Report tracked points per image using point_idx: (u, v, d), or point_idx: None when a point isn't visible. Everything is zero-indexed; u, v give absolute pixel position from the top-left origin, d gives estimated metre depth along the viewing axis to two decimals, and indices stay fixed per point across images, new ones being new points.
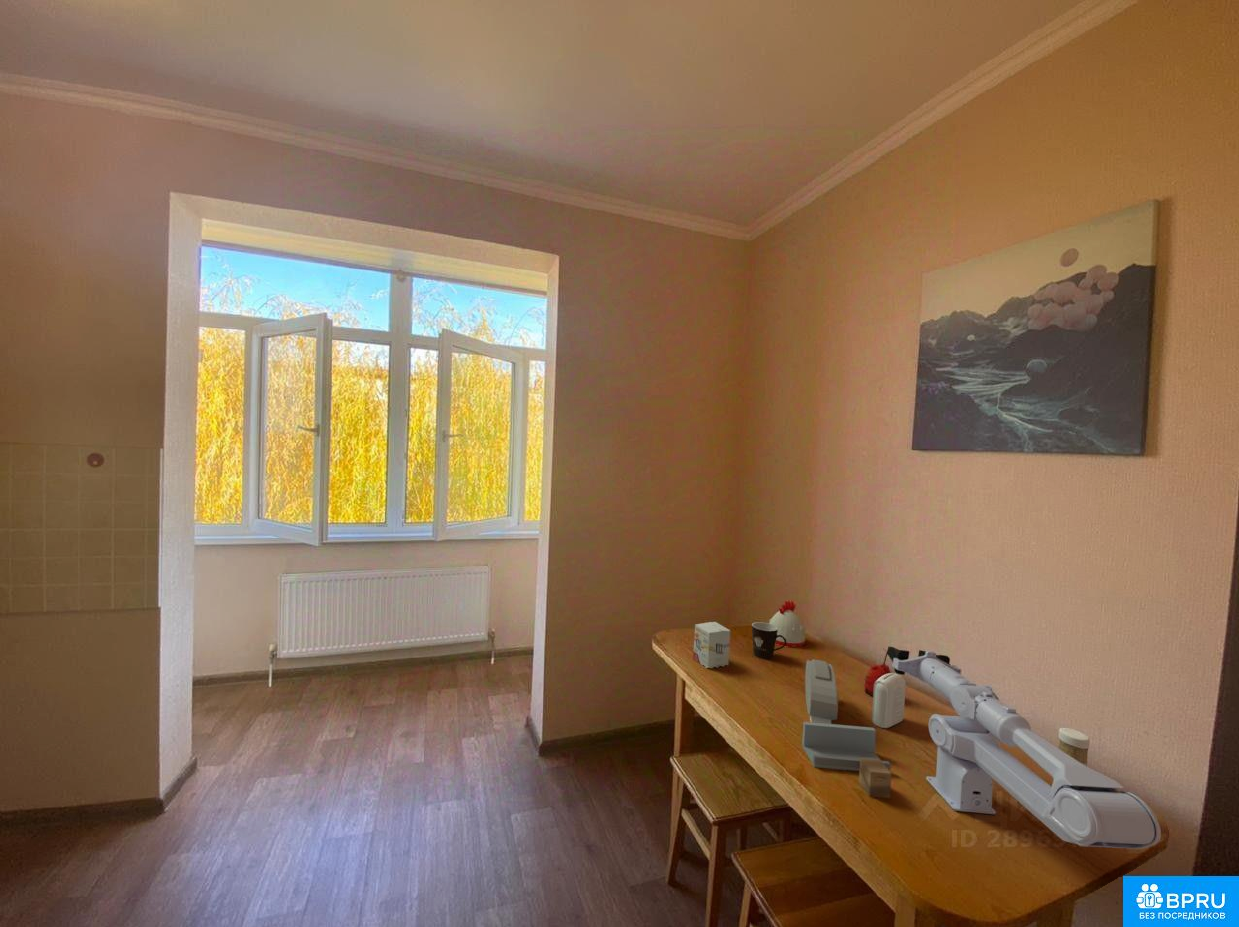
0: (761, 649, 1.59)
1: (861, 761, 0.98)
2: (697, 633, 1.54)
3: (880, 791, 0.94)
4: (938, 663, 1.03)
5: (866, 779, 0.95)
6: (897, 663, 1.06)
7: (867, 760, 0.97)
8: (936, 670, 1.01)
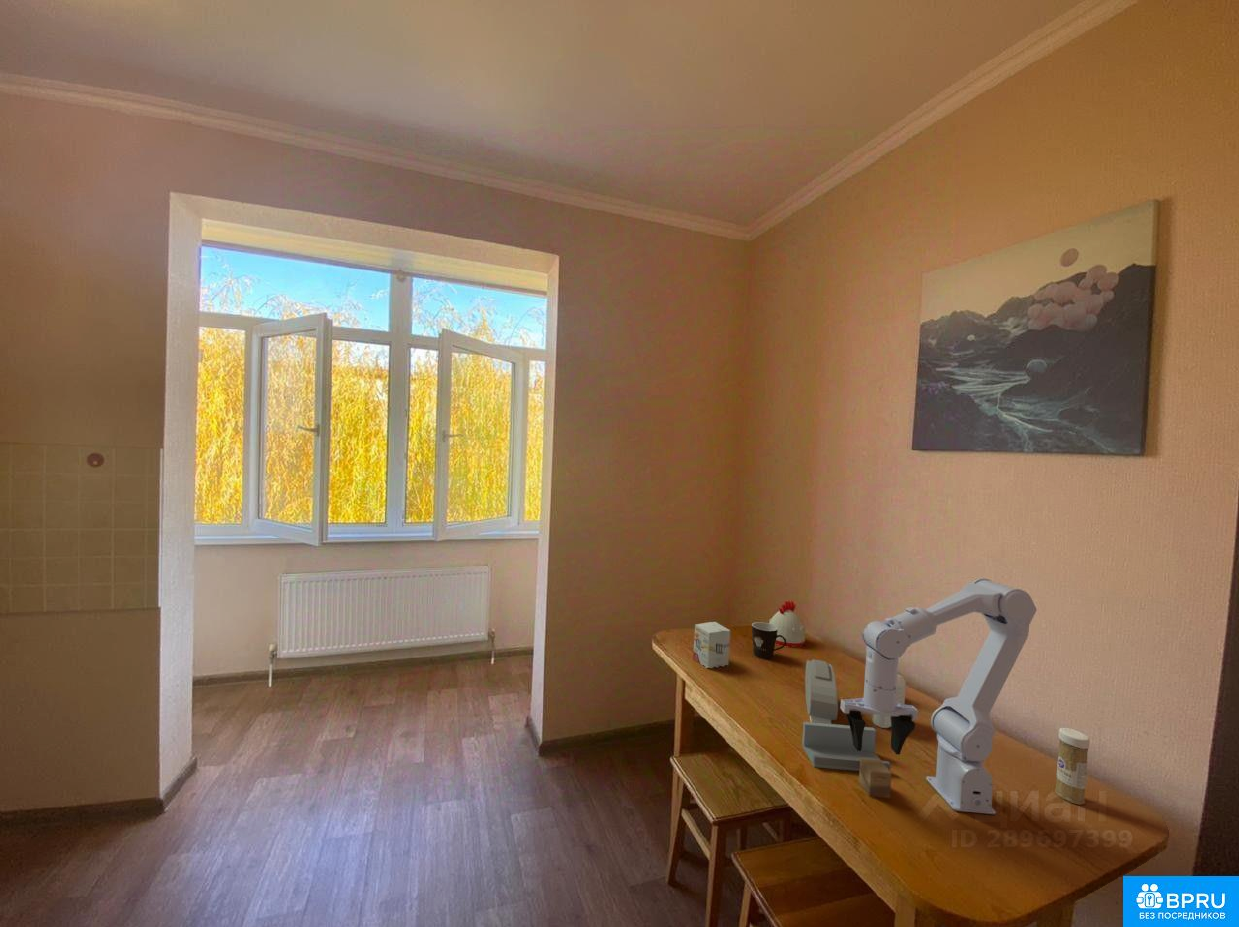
0: (761, 649, 1.59)
1: (861, 761, 0.98)
2: (697, 633, 1.54)
3: (880, 791, 0.94)
4: None
5: (866, 779, 0.95)
6: (842, 702, 0.97)
7: (867, 760, 0.97)
8: (876, 684, 0.94)
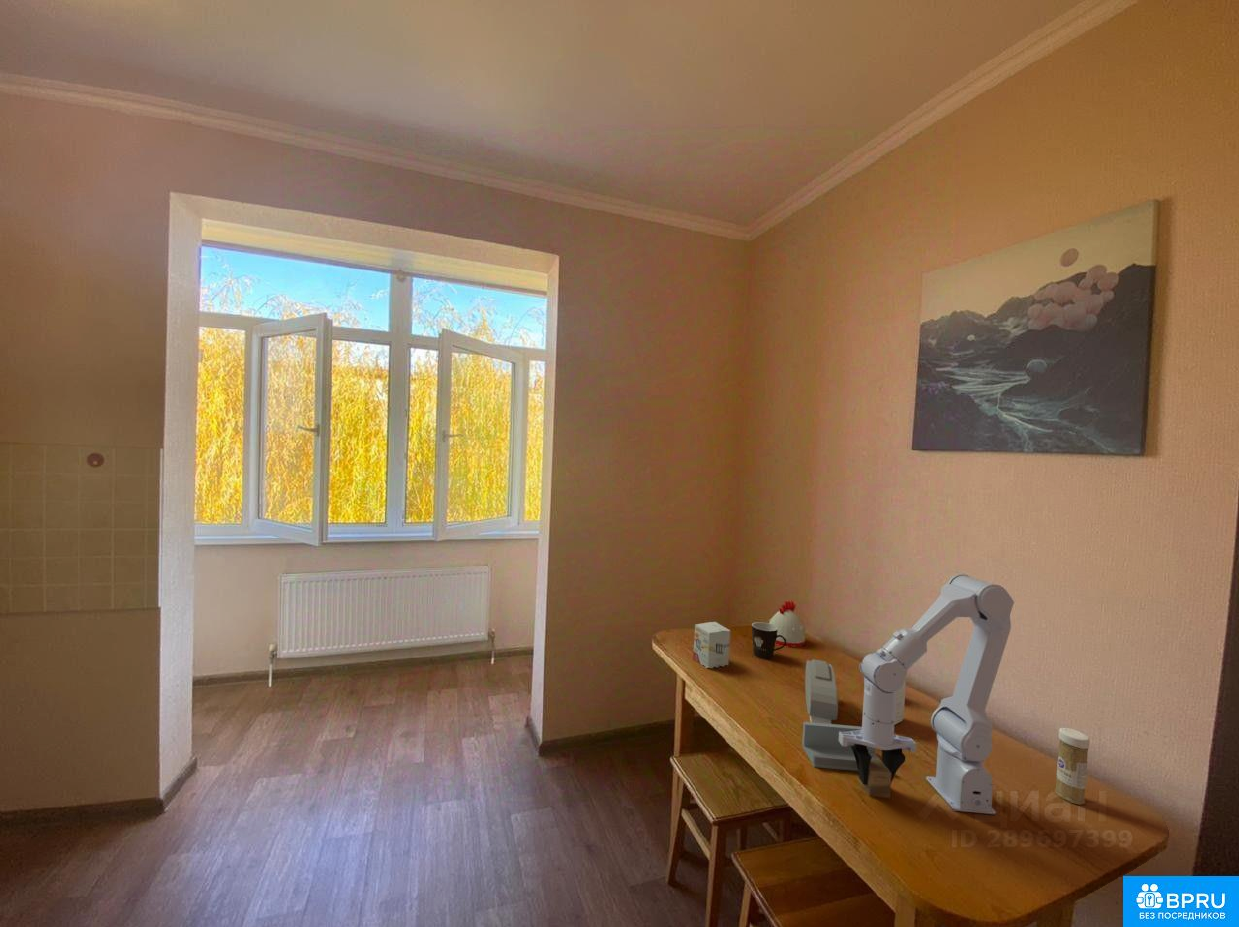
0: (761, 649, 1.59)
1: None
2: (697, 633, 1.54)
3: (880, 790, 0.94)
4: None
5: None
6: (840, 734, 0.97)
7: None
8: (874, 718, 0.94)
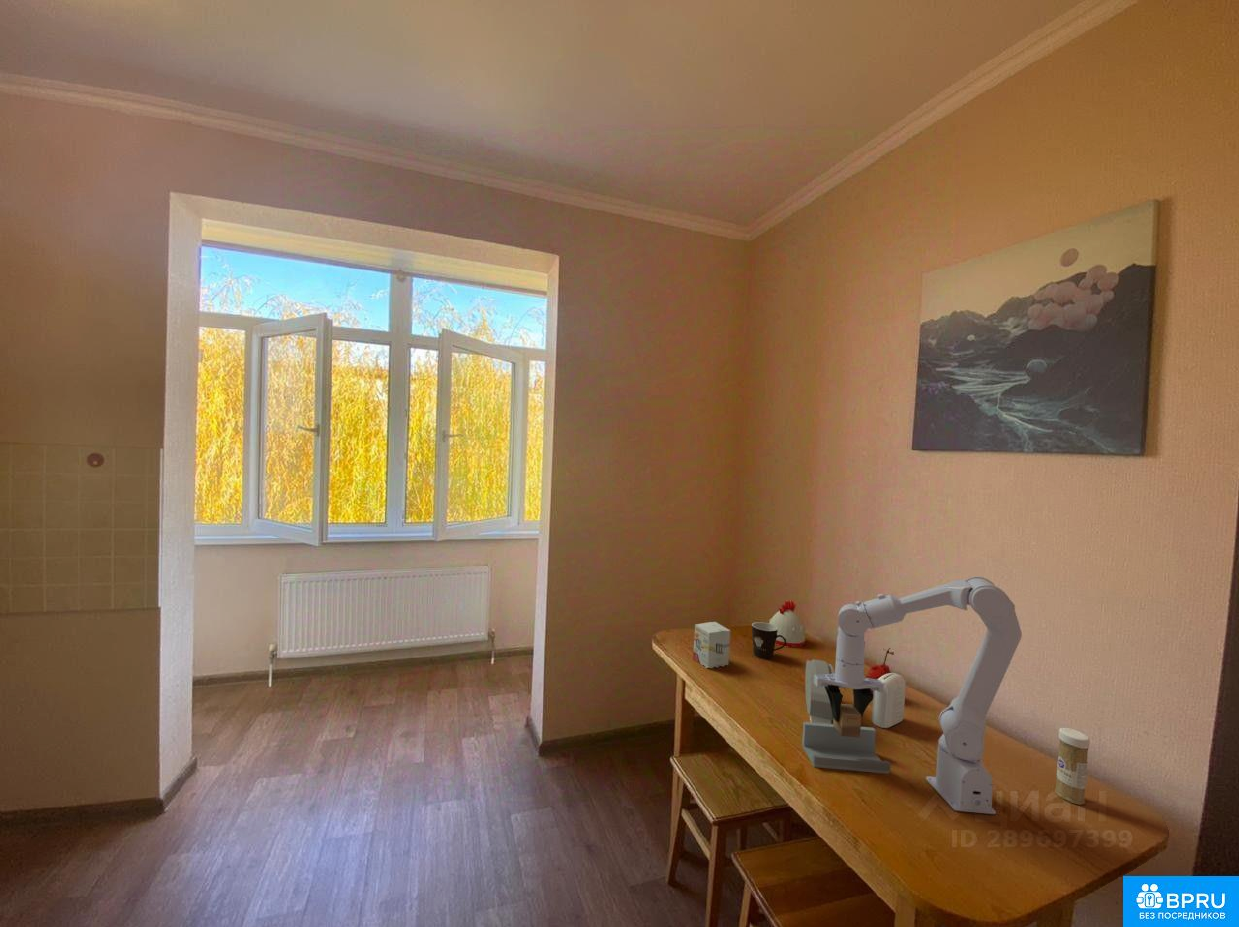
0: (761, 649, 1.59)
1: None
2: (697, 633, 1.54)
3: (851, 731, 1.03)
4: None
5: None
6: (815, 677, 1.06)
7: None
8: (839, 658, 1.05)
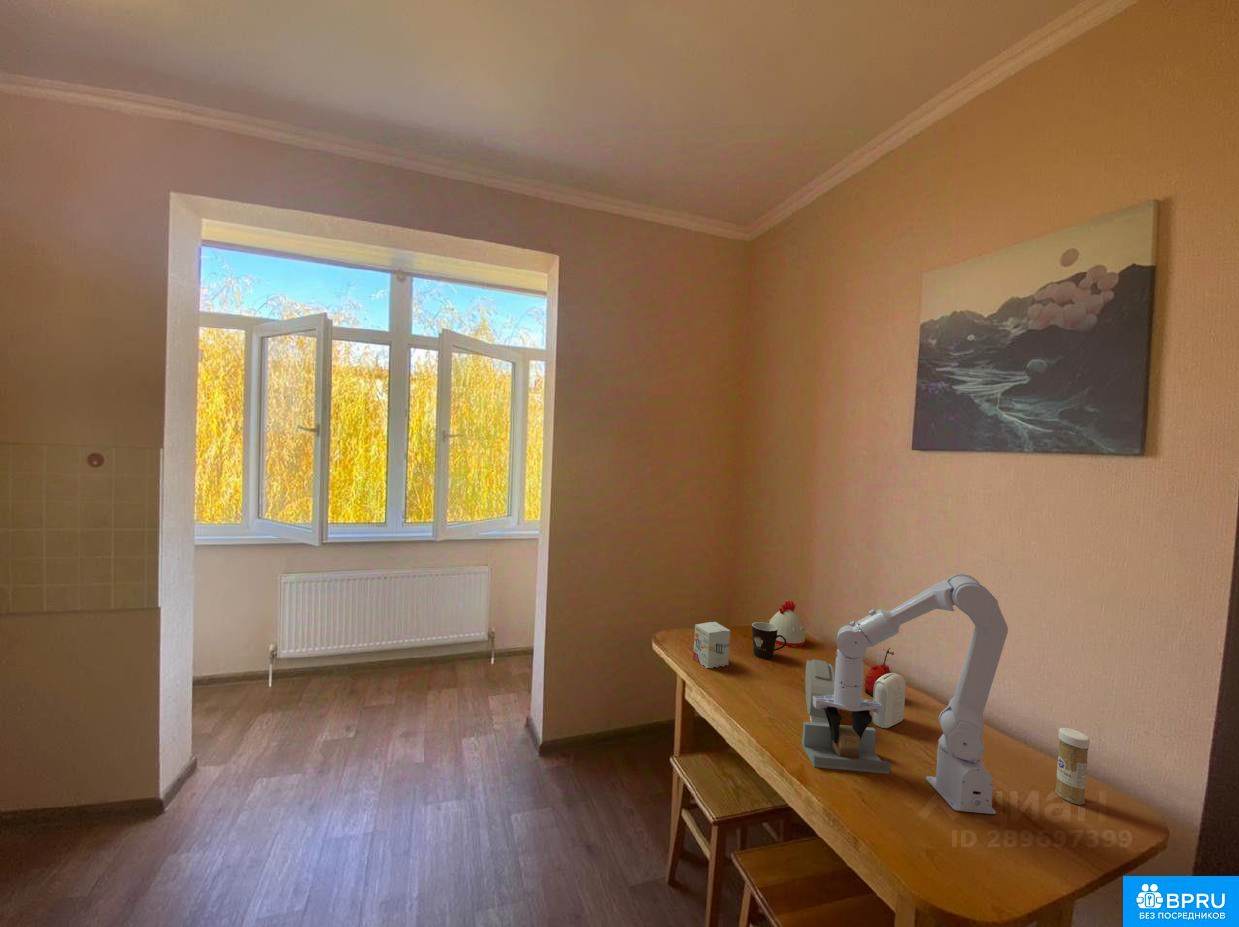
0: (761, 649, 1.59)
1: None
2: (697, 633, 1.54)
3: (850, 753, 1.03)
4: None
5: (837, 743, 1.05)
6: (814, 698, 1.06)
7: None
8: (838, 679, 1.05)
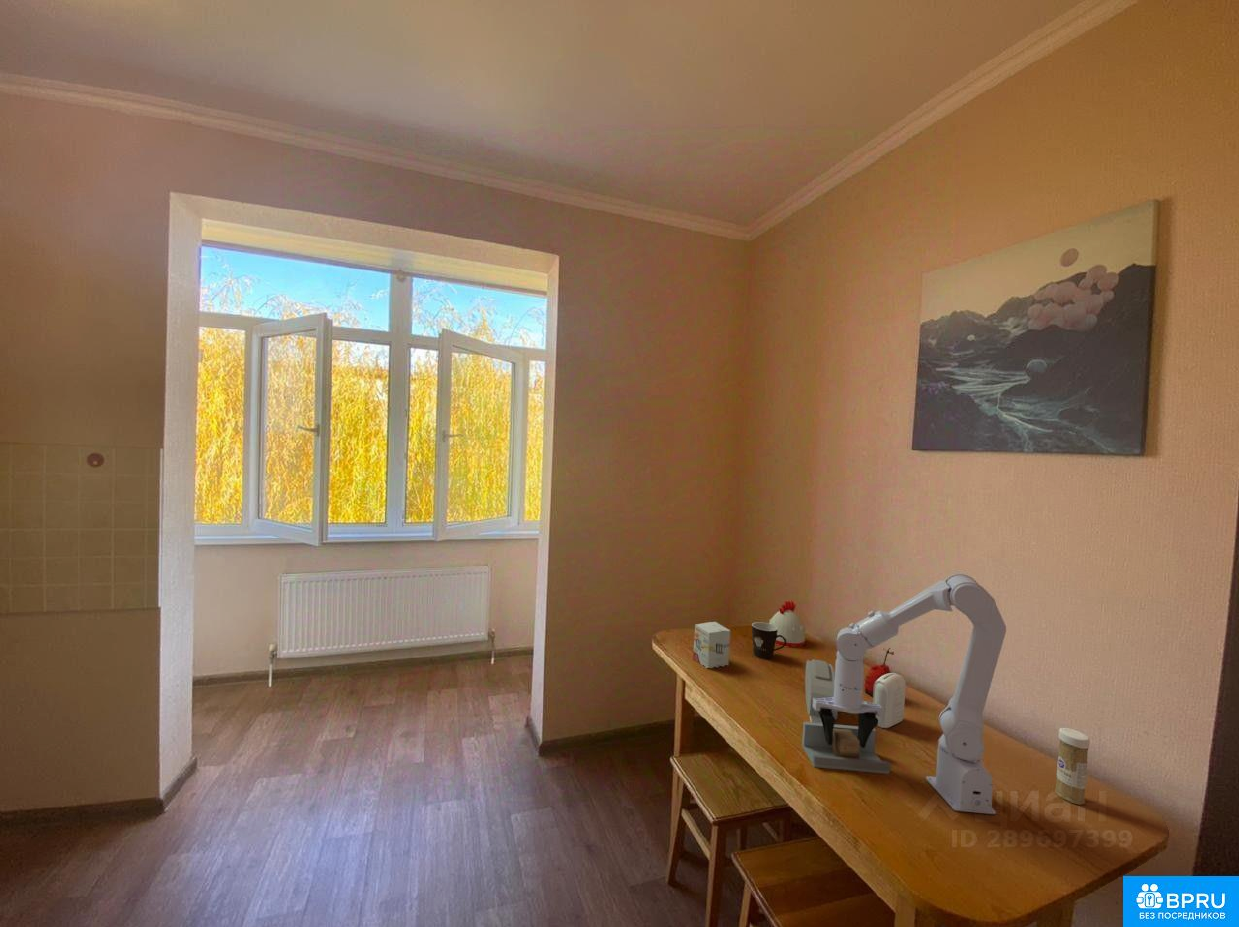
0: (761, 649, 1.59)
1: (833, 731, 1.07)
2: (697, 633, 1.54)
3: (849, 757, 1.03)
4: None
5: (837, 748, 1.05)
6: (813, 700, 1.06)
7: (838, 731, 1.06)
8: (838, 682, 1.05)
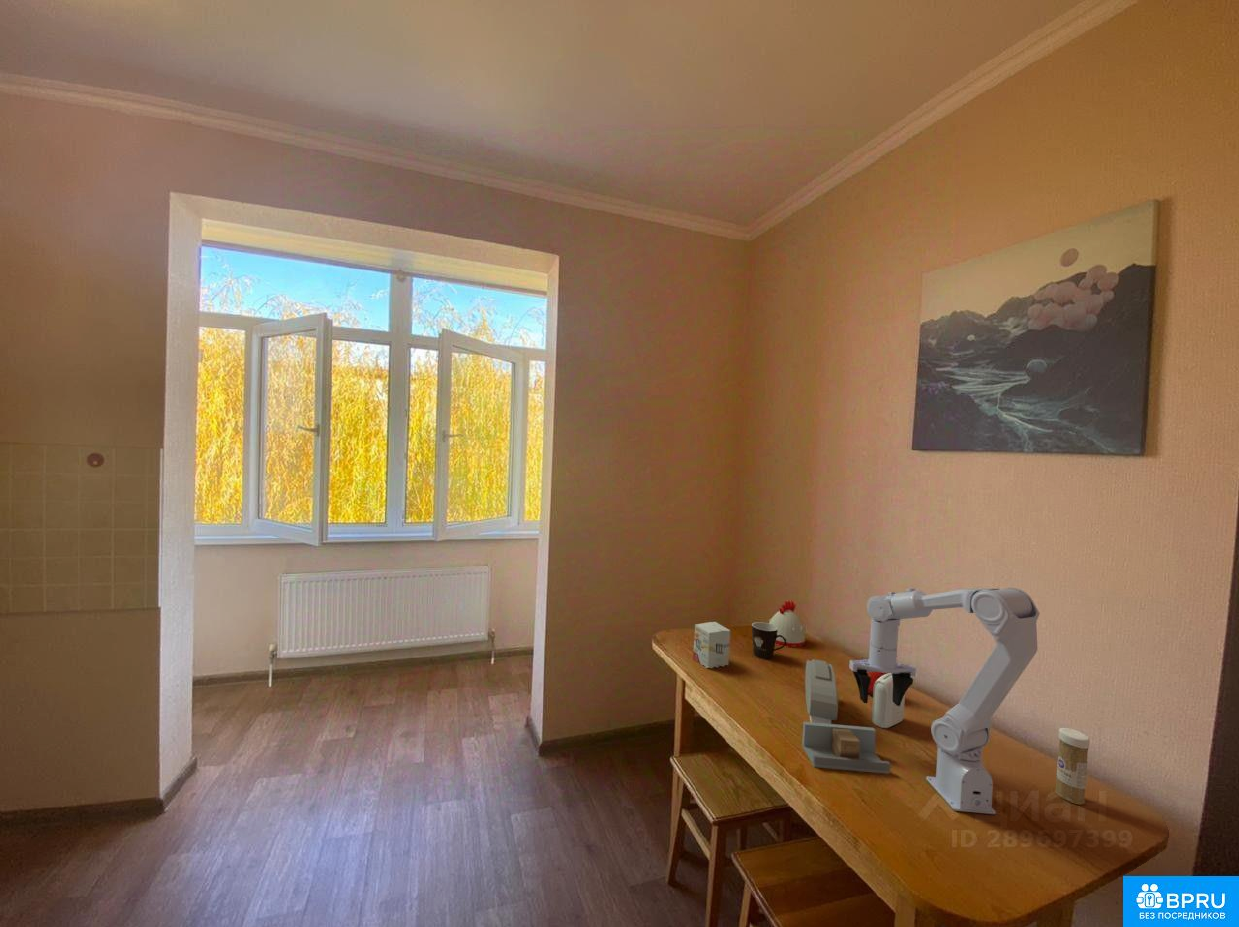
0: (761, 649, 1.59)
1: (833, 731, 1.07)
2: (697, 633, 1.54)
3: (849, 757, 1.03)
4: None
5: (837, 748, 1.05)
6: (850, 662, 1.13)
7: (838, 731, 1.06)
8: (870, 641, 1.13)
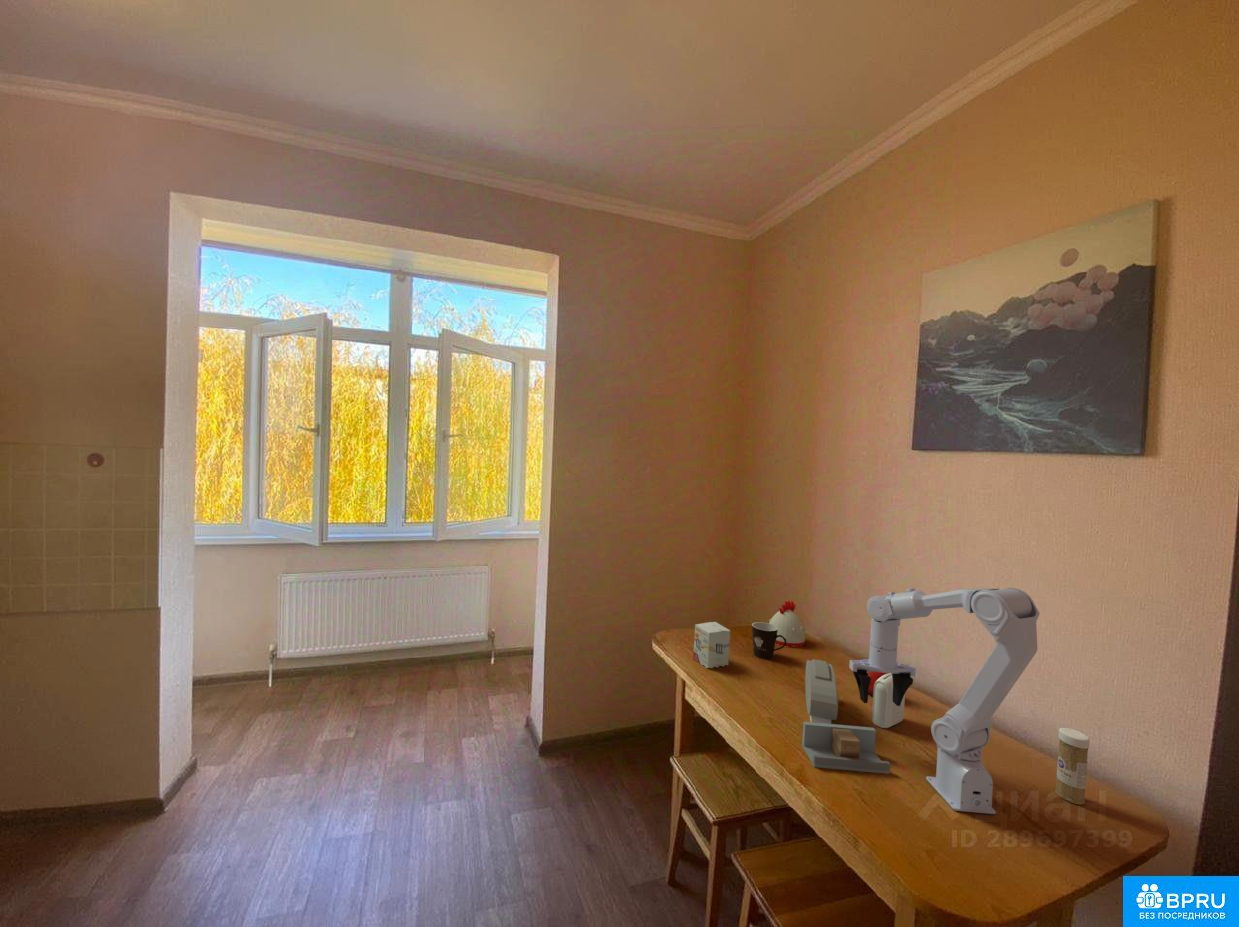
0: (761, 649, 1.59)
1: (833, 731, 1.07)
2: (697, 633, 1.54)
3: (849, 757, 1.03)
4: None
5: (837, 748, 1.05)
6: (850, 662, 1.13)
7: (838, 731, 1.06)
8: (870, 641, 1.13)
